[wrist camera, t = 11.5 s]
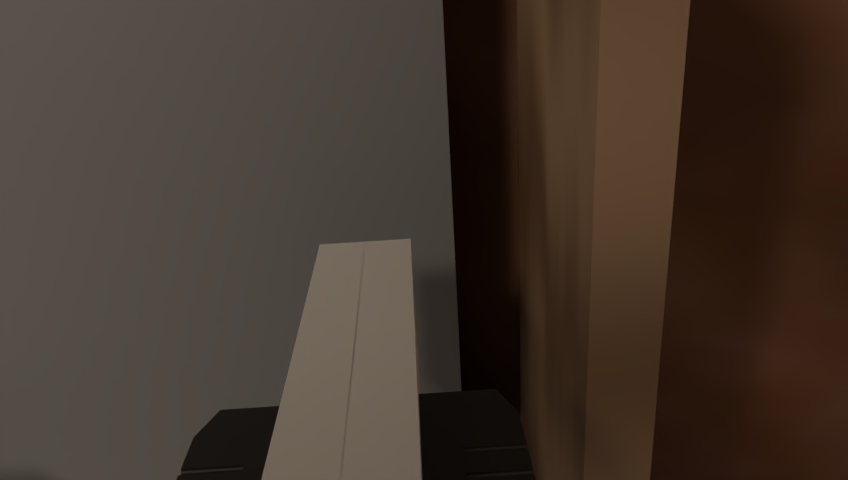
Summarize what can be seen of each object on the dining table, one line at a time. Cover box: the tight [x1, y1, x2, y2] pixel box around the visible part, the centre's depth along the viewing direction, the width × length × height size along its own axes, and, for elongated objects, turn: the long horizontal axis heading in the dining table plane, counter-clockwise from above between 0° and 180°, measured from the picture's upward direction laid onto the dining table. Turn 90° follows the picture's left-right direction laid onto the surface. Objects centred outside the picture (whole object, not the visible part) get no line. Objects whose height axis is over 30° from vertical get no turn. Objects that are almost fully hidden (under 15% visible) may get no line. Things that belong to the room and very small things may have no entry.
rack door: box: [517, 0, 690, 480], centre depth 13 cm, size 17×2×7 cm, turn 4°
